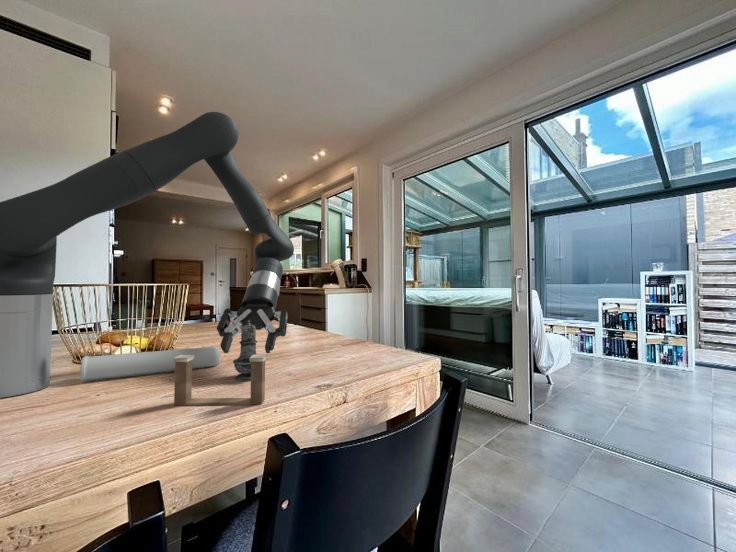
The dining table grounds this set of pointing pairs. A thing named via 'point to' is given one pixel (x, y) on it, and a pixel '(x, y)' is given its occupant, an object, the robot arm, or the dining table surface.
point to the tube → (143, 363)
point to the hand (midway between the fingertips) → (246, 351)
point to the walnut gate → (185, 390)
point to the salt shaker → (246, 352)
